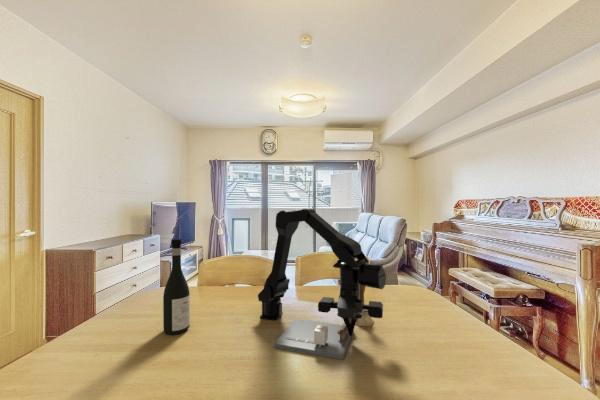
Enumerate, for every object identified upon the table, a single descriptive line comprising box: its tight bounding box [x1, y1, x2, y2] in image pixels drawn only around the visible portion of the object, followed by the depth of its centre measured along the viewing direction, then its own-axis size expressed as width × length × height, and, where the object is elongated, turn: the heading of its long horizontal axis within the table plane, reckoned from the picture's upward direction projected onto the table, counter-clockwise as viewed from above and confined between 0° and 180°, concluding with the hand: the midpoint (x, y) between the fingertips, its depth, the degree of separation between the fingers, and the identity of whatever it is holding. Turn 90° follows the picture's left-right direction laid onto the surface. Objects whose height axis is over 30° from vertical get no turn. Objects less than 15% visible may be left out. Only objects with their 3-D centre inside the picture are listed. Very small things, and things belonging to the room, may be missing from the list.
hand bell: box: [355, 284, 375, 327], centre depth 100 cm, size 8×8×16 cm
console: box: [273, 318, 352, 361], centre depth 88 cm, size 20×19×6 cm
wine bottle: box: [162, 238, 191, 335], centre depth 93 cm, size 8×8×30 cm
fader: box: [314, 325, 328, 345], centre depth 82 cm, size 3×4×4 cm
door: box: [337, 321, 348, 342], centre depth 88 cm, size 2×10×3 cm, turn 157°
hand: (350, 335), depth 85 cm, fingers closed
